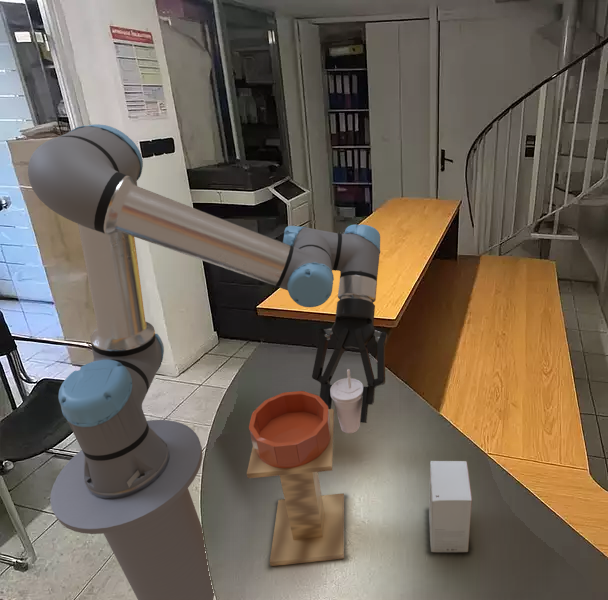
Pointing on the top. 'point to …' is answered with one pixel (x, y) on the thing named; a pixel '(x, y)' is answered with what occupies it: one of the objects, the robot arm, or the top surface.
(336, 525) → the pedestal
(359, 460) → the top surface
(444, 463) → the small box
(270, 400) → the bowl
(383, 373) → the robot arm
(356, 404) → the smoothie
